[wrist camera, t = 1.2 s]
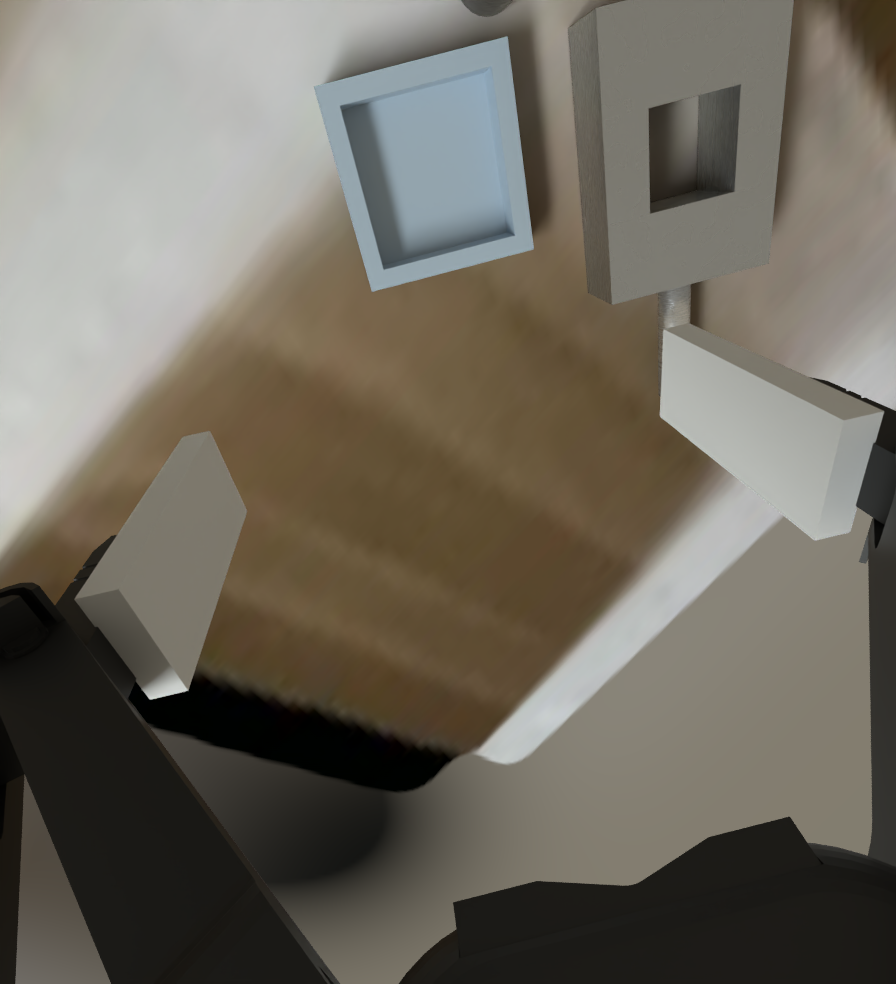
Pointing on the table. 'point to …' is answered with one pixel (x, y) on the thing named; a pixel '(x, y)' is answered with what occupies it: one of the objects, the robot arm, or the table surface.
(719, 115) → the block
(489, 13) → the pin
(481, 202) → the parts tray
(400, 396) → the table surface
